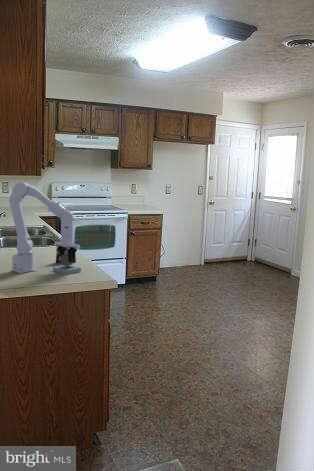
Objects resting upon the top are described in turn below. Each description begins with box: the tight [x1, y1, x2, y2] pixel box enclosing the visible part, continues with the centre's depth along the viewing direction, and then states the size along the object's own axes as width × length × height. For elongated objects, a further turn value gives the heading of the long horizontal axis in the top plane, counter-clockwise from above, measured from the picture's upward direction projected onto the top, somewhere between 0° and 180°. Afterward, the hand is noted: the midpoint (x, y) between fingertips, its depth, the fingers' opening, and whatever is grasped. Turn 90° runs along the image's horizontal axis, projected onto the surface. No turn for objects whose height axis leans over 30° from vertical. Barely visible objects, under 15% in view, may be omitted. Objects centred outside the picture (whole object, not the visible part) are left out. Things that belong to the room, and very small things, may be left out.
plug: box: [60, 251, 73, 266], centre depth 208 cm, size 4×4×7 cm
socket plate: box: [52, 264, 82, 276], centre depth 209 cm, size 10×10×2 cm
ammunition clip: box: [55, 241, 77, 264], centre depth 227 cm, size 11×2×12 cm, turn 113°
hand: (67, 261), depth 208 cm, fingers closed on plug, 4 cm apart
